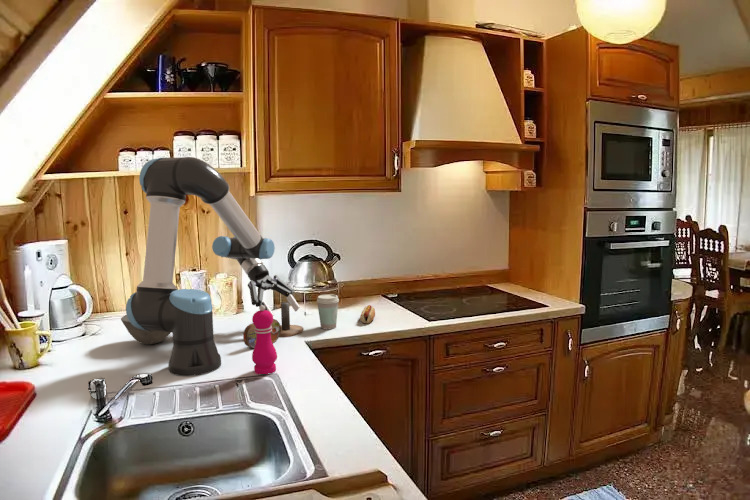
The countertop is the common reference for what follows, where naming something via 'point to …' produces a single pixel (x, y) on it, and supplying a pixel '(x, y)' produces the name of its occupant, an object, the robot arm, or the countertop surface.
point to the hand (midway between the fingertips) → (285, 313)
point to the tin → (251, 336)
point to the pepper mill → (263, 342)
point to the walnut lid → (288, 323)
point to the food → (367, 314)
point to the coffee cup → (328, 310)
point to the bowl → (144, 333)
